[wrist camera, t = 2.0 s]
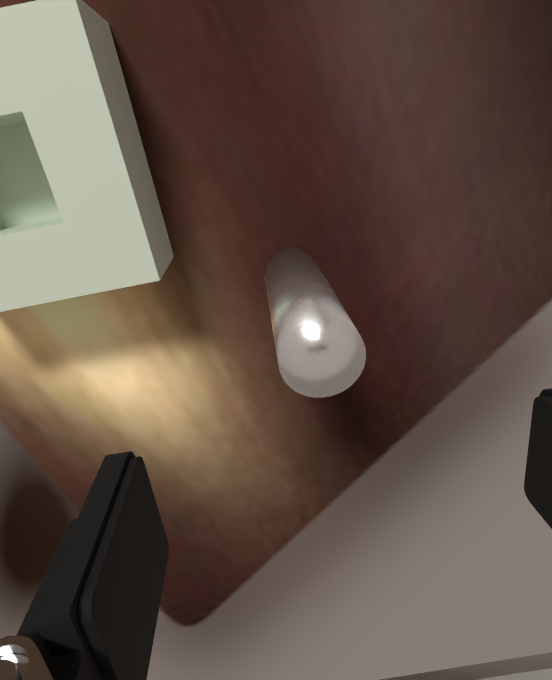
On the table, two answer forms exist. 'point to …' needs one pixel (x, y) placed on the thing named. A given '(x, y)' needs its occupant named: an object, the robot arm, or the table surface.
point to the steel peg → (311, 327)
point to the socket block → (70, 162)
